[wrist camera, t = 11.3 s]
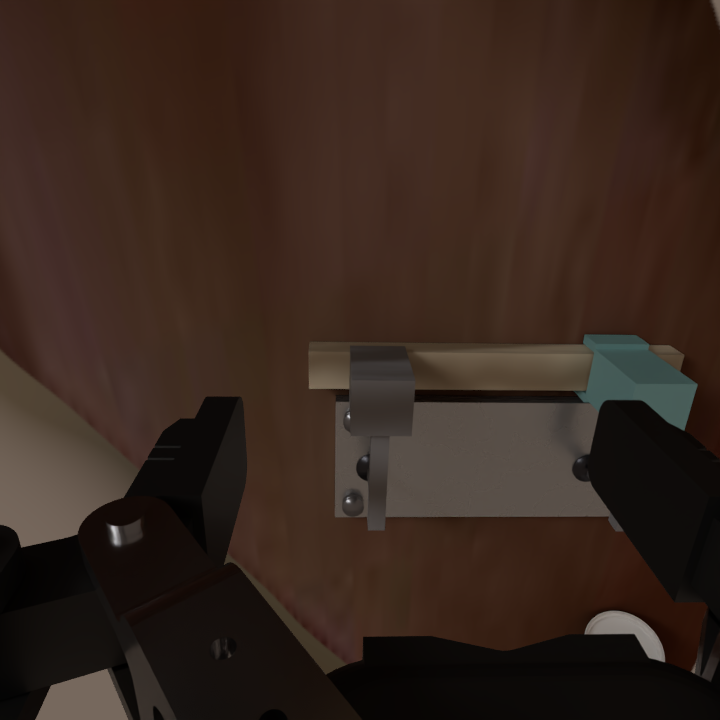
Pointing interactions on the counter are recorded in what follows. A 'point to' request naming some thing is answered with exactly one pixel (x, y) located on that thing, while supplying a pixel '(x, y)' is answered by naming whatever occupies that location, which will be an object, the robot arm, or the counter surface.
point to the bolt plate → (477, 459)
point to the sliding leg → (636, 380)
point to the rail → (437, 384)
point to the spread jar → (627, 630)
